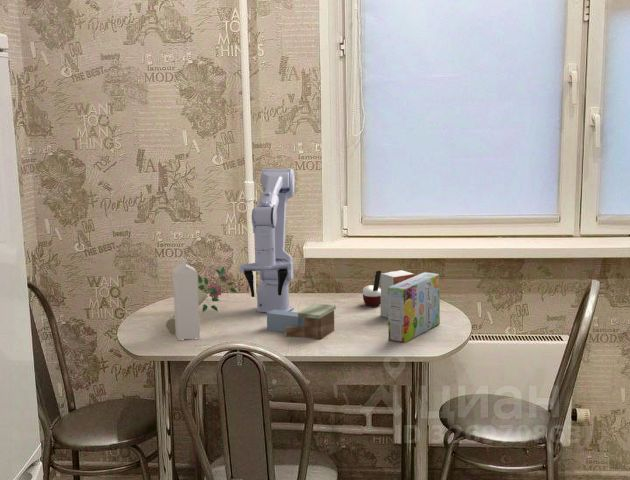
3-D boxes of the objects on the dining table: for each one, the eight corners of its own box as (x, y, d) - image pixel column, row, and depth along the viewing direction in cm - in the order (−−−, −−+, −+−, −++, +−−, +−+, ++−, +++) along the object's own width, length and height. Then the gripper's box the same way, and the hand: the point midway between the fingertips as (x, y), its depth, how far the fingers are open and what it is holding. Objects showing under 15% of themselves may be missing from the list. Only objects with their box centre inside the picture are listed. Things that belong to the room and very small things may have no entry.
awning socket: (284, 336, 219) (284, 311, 218) (303, 325, 229) (302, 301, 228) (319, 340, 214) (318, 315, 213) (336, 329, 224) (336, 305, 223)
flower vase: (168, 356, 226) (210, 300, 258) (205, 347, 222) (242, 291, 253) (151, 321, 223) (195, 268, 254) (188, 311, 219) (228, 259, 250)
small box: (393, 320, 233) (393, 277, 231) (380, 315, 238) (380, 273, 236) (414, 315, 237) (414, 273, 235) (400, 311, 243) (401, 269, 240)
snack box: (423, 321, 231) (423, 271, 228) (440, 324, 228) (441, 273, 225) (386, 340, 214) (386, 286, 211) (405, 343, 211) (405, 288, 208)
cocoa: (363, 303, 254) (361, 266, 253) (382, 302, 254) (381, 265, 252) (363, 309, 245) (361, 271, 243) (383, 309, 244) (382, 270, 243)
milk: (178, 341, 216) (173, 262, 212) (175, 335, 221) (171, 257, 217) (200, 338, 217) (196, 260, 213) (197, 332, 223) (193, 256, 219)
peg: (267, 330, 225) (266, 313, 224) (273, 326, 229) (273, 309, 228) (298, 334, 221) (298, 316, 220) (304, 330, 225) (304, 313, 224)
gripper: (240, 252, 219) (242, 300, 221) (292, 250, 221) (293, 297, 223) (238, 247, 225) (240, 294, 228) (288, 245, 228) (289, 291, 230)
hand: (266, 295), depth 226 cm, fingers open, 7 cm apart
